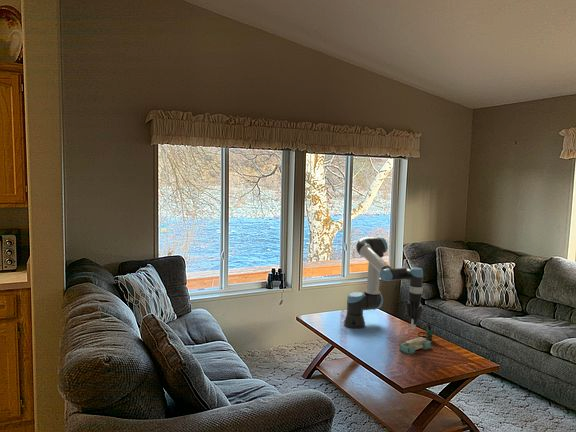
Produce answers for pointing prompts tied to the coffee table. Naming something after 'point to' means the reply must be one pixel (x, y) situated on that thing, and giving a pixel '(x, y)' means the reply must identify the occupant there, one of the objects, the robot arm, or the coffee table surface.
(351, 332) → the coffee table surface
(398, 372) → the coffee table surface
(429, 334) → the binoculars
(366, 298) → the robot arm
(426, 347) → the cap
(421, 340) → the beige long bar
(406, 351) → the cap
